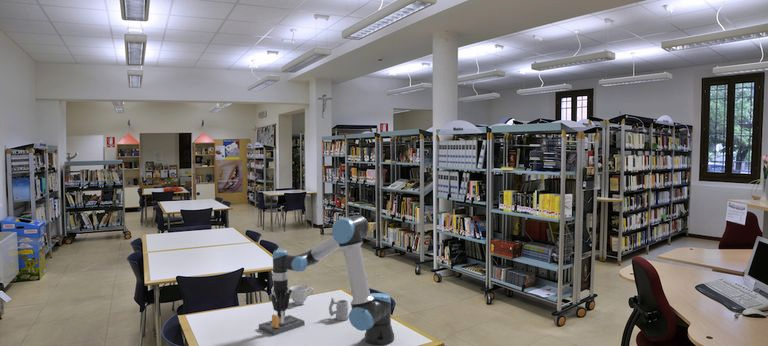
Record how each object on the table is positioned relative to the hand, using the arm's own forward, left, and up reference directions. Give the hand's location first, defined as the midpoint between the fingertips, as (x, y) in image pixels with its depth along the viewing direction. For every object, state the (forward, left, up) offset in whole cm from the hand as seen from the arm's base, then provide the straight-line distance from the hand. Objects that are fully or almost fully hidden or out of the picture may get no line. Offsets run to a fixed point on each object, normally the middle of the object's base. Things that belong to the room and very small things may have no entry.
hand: (281, 322), depth 252 cm
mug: (-9, -33, -4) cm, 34 cm away
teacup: (+29, -35, -4) cm, 45 cm away
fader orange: (0, +4, -2) cm, 4 cm away
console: (+4, -3, -4) cm, 6 cm away
